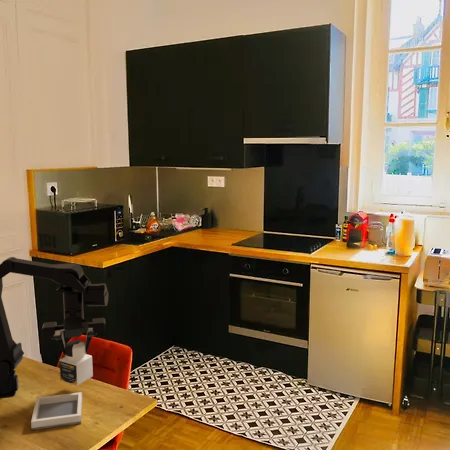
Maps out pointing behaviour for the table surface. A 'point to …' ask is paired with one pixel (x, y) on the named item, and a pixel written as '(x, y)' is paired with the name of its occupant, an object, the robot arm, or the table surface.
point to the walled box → (57, 411)
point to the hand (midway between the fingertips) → (75, 353)
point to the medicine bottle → (76, 364)
